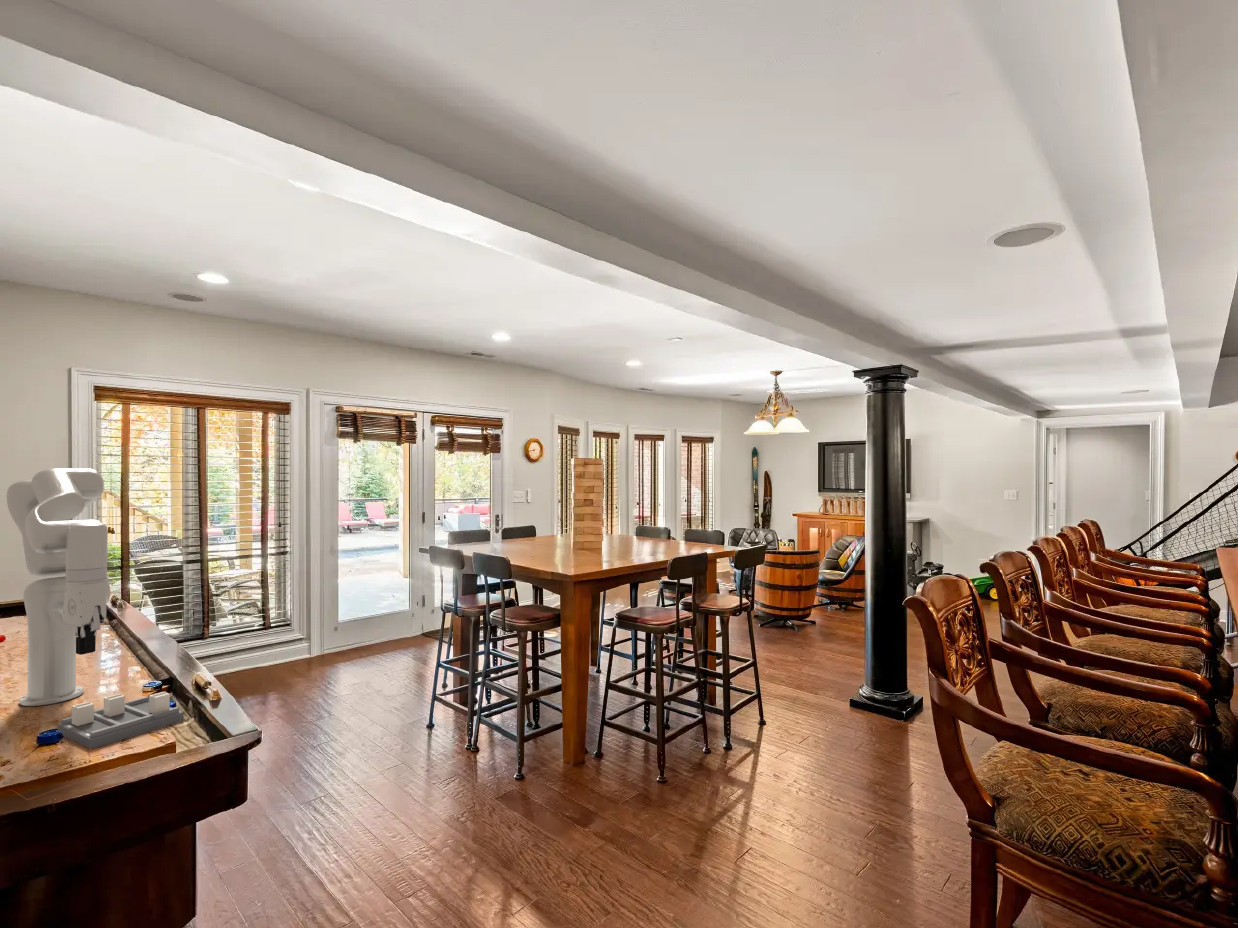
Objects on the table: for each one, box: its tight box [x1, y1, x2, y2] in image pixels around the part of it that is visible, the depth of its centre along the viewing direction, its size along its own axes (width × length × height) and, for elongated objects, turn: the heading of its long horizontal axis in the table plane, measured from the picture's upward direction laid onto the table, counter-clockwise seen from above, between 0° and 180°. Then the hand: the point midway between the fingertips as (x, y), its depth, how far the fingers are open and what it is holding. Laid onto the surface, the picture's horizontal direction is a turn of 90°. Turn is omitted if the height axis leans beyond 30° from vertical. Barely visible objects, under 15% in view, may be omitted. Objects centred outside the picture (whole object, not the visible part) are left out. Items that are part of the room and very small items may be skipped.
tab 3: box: [148, 691, 171, 714], centre depth 151 cm, size 3×3×4 cm
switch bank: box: [57, 696, 185, 750], centre depth 147 cm, size 17×18×3 cm
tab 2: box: [103, 693, 126, 717], centre depth 149 cm, size 3×3×4 cm
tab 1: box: [71, 701, 95, 726], centre depth 144 cm, size 3×3×4 cm
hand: (85, 652), depth 149 cm, fingers closed
